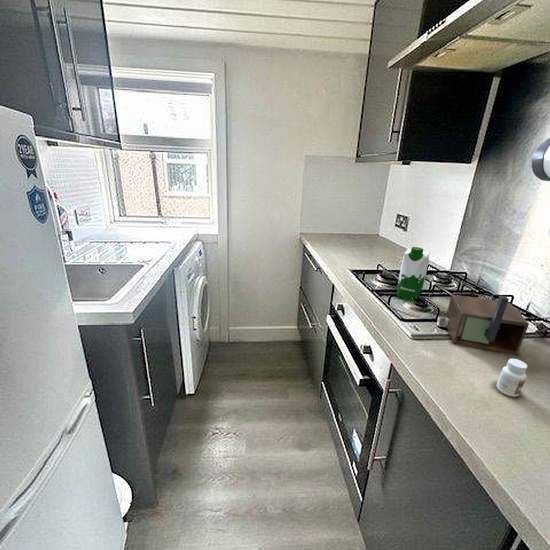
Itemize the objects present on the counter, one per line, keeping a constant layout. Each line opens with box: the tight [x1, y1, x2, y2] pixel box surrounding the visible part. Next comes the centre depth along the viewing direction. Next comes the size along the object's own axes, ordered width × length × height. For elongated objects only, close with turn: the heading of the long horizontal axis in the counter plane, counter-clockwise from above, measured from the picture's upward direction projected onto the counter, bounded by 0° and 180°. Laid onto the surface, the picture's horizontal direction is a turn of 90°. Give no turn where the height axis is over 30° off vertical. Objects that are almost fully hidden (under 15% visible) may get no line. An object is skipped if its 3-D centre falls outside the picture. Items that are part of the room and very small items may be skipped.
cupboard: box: [445, 293, 530, 356], centre depth 90 cm, size 16×14×10 cm
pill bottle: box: [496, 358, 528, 397], centre depth 69 cm, size 4×4×8 cm
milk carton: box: [396, 246, 430, 303], centre depth 115 cm, size 9×9×20 cm
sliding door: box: [461, 295, 510, 344], centre depth 83 cm, size 7×4×16 cm, turn 72°
